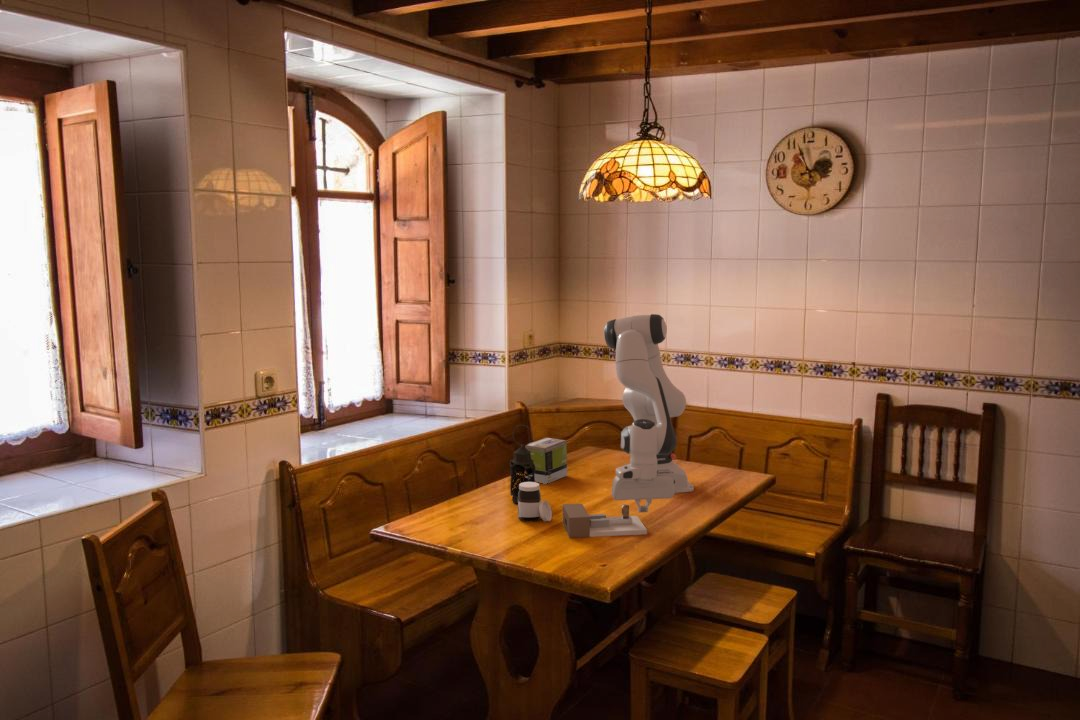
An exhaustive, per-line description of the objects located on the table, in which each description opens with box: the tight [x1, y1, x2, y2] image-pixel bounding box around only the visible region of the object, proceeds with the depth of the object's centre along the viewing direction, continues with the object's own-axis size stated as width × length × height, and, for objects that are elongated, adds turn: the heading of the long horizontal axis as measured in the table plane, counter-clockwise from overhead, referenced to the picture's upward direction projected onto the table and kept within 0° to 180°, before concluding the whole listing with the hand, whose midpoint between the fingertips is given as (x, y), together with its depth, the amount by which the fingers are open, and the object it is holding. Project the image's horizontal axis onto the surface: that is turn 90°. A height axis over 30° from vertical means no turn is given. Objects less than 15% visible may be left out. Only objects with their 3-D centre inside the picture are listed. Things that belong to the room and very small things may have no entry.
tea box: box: [524, 437, 568, 485], centre depth 338 cm, size 15×10×15 cm
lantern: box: [509, 424, 536, 504], centre depth 308 cm, size 10×9×28 cm
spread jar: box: [517, 482, 553, 523], centre depth 290 cm, size 12×11×12 cm
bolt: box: [600, 504, 632, 525], centre depth 280 cm, size 10×2×6 cm, turn 97°
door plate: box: [562, 503, 648, 539], centre depth 280 cm, size 25×14×6 cm, turn 97°
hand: (642, 511), depth 281 cm, fingers closed
